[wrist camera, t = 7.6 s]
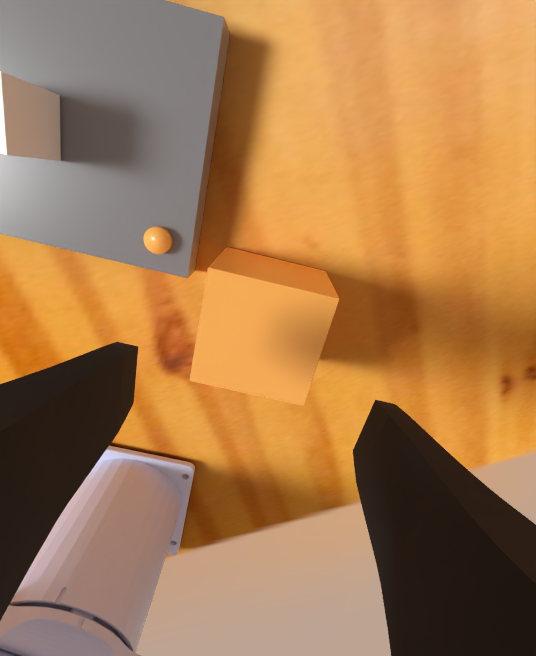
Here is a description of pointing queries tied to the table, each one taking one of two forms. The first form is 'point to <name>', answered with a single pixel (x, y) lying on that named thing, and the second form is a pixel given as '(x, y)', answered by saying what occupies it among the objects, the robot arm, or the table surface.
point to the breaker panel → (116, 127)
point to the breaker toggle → (28, 120)
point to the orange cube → (262, 325)
